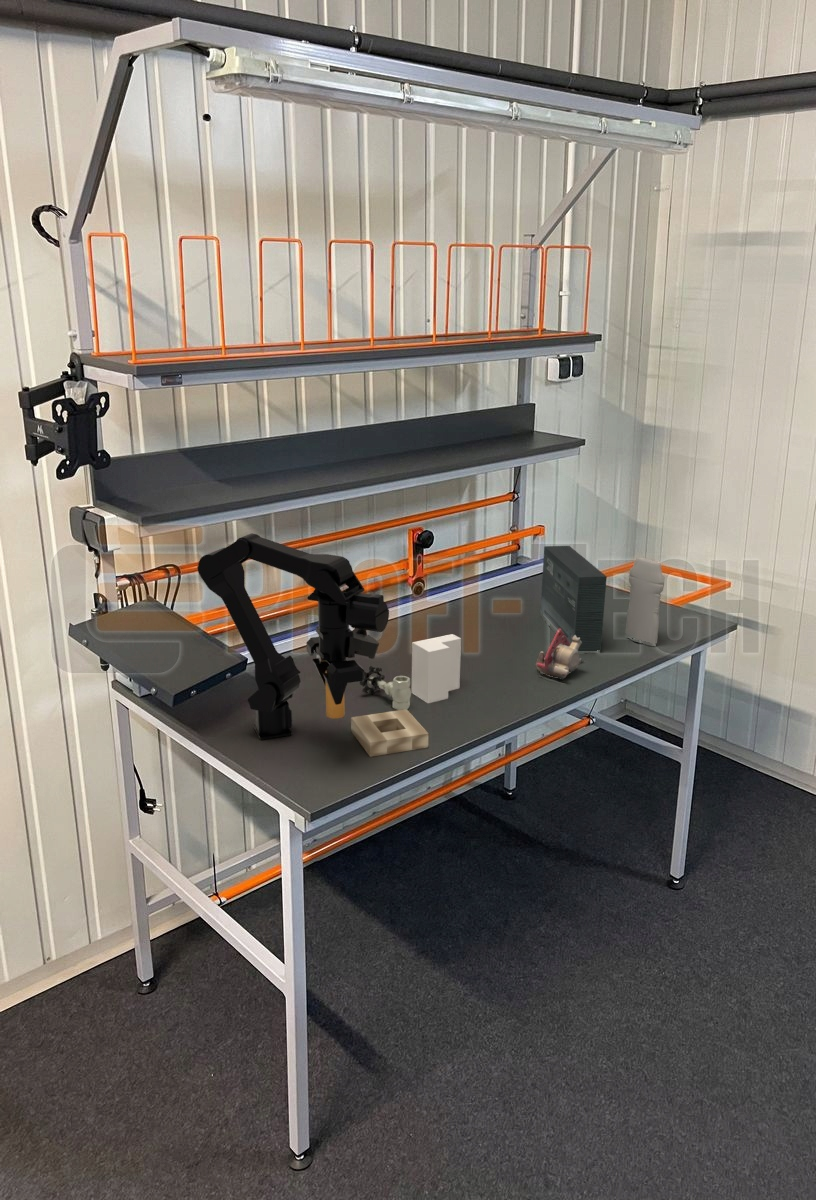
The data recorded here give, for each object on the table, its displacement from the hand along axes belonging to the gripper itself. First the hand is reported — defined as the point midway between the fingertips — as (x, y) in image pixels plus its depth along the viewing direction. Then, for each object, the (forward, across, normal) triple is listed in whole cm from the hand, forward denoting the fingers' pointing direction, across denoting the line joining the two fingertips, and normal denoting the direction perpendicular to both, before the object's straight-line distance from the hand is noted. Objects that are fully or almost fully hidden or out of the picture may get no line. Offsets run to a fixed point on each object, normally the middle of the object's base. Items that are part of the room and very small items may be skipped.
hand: (335, 700), depth 186 cm
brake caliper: (+10, +18, -60) cm, 63 cm away
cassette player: (+10, +41, -76) cm, 87 cm away
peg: (+3, 0, 0) cm, 3 cm away
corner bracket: (+10, +19, -29) cm, 36 cm away
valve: (+10, +16, -17) cm, 26 cm away
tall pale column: (+10, +30, -91) cm, 96 cm away
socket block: (+10, -1, -11) cm, 15 cm away
